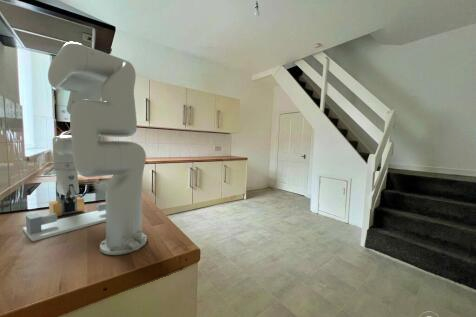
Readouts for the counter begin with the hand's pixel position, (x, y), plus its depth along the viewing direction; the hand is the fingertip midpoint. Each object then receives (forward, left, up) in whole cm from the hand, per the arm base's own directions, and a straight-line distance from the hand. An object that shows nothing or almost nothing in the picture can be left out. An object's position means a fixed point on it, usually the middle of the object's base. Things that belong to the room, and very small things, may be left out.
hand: (67, 209), depth 83 cm
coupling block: (0, 0, -1) cm, 1 cm away
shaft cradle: (-14, +1, -2) cm, 14 cm away
